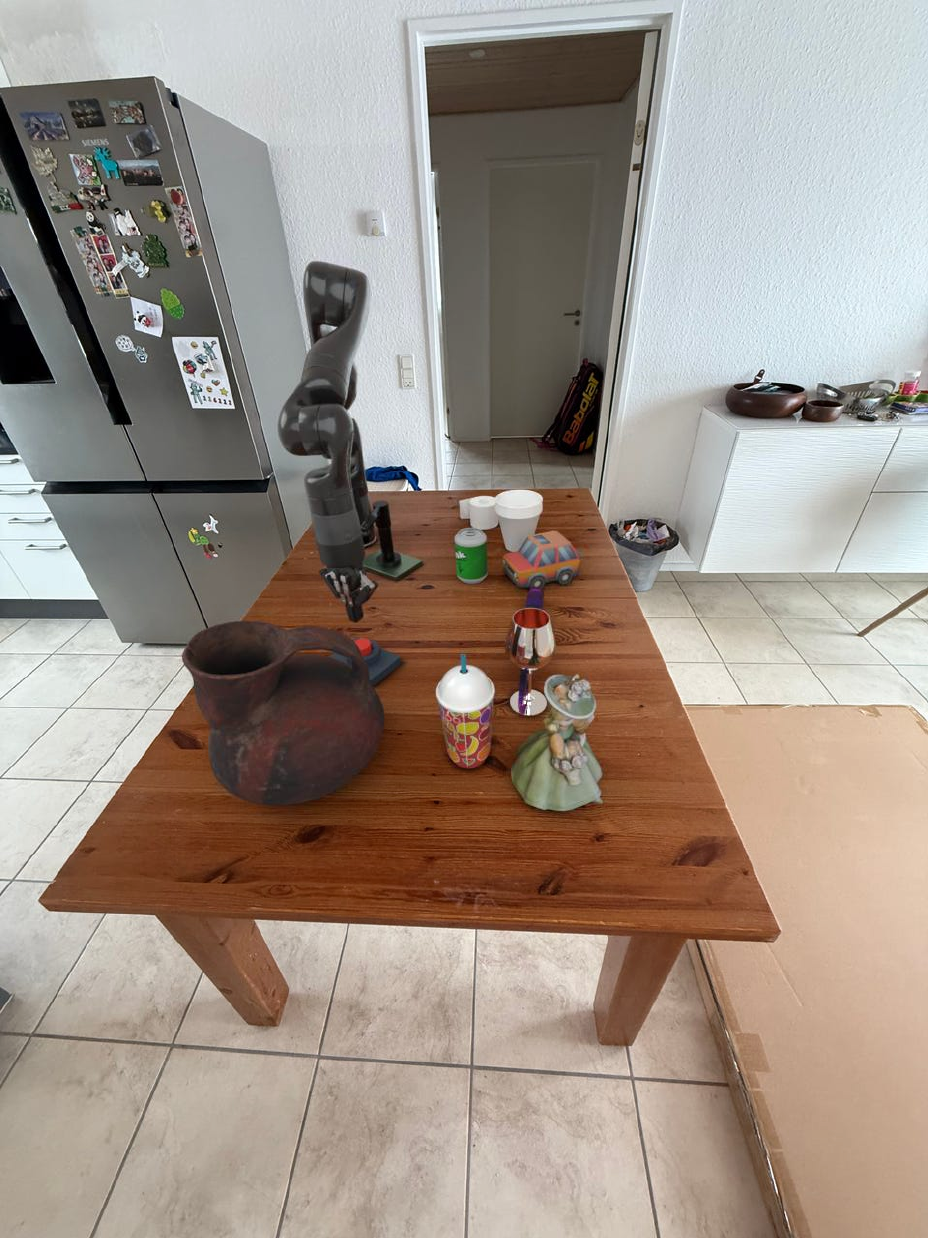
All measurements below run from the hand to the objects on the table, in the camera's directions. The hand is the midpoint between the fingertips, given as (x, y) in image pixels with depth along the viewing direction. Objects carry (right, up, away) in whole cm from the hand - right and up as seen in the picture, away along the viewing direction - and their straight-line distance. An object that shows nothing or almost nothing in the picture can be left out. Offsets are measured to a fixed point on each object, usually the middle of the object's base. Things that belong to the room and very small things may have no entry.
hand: (356, 619), depth 94 cm
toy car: (+38, +10, +30) cm, 50 cm away
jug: (-4, -23, -13) cm, 26 cm away
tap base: (+1, +14, +38) cm, 41 cm away
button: (0, -6, +4) cm, 7 cm away
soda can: (+22, +10, +31) cm, 39 cm away
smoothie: (+21, -21, -13) cm, 33 cm away
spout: (-1, +20, +27) cm, 34 cm away
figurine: (+33, -25, -19) cm, 46 cm away
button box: (0, -9, +6) cm, 11 cm away
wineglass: (+31, -15, -5) cm, 35 cm away
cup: (+34, +19, +44) cm, 59 cm away
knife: (+32, -7, +6) cm, 34 cm away
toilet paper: (+25, +29, +58) cm, 69 cm away
